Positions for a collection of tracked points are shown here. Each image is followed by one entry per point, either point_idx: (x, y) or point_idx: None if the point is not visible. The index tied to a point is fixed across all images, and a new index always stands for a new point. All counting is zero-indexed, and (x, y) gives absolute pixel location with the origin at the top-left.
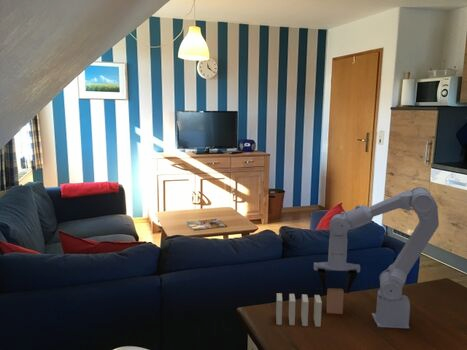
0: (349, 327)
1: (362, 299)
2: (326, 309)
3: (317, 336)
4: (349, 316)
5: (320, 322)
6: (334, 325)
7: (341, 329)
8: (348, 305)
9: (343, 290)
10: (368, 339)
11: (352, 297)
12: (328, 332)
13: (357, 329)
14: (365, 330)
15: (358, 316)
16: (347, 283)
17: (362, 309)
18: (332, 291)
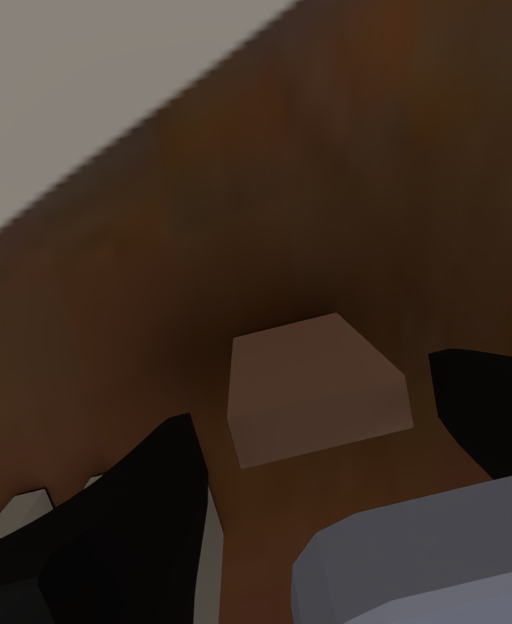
0: (384, 478)
1: (500, 36)
2: (233, 342)
3: (220, 613)
4: (387, 353)
5: (220, 556)
6: (298, 486)
7: (339, 512)
8: (383, 192)
9: (410, 413)
10: None
11: (420, 24)
12: (271, 562)
13: (428, 483)
14: (472, 478)
15: (445, 333)
16: (509, 453)
17: (481, 221)
18: (287, 451)
